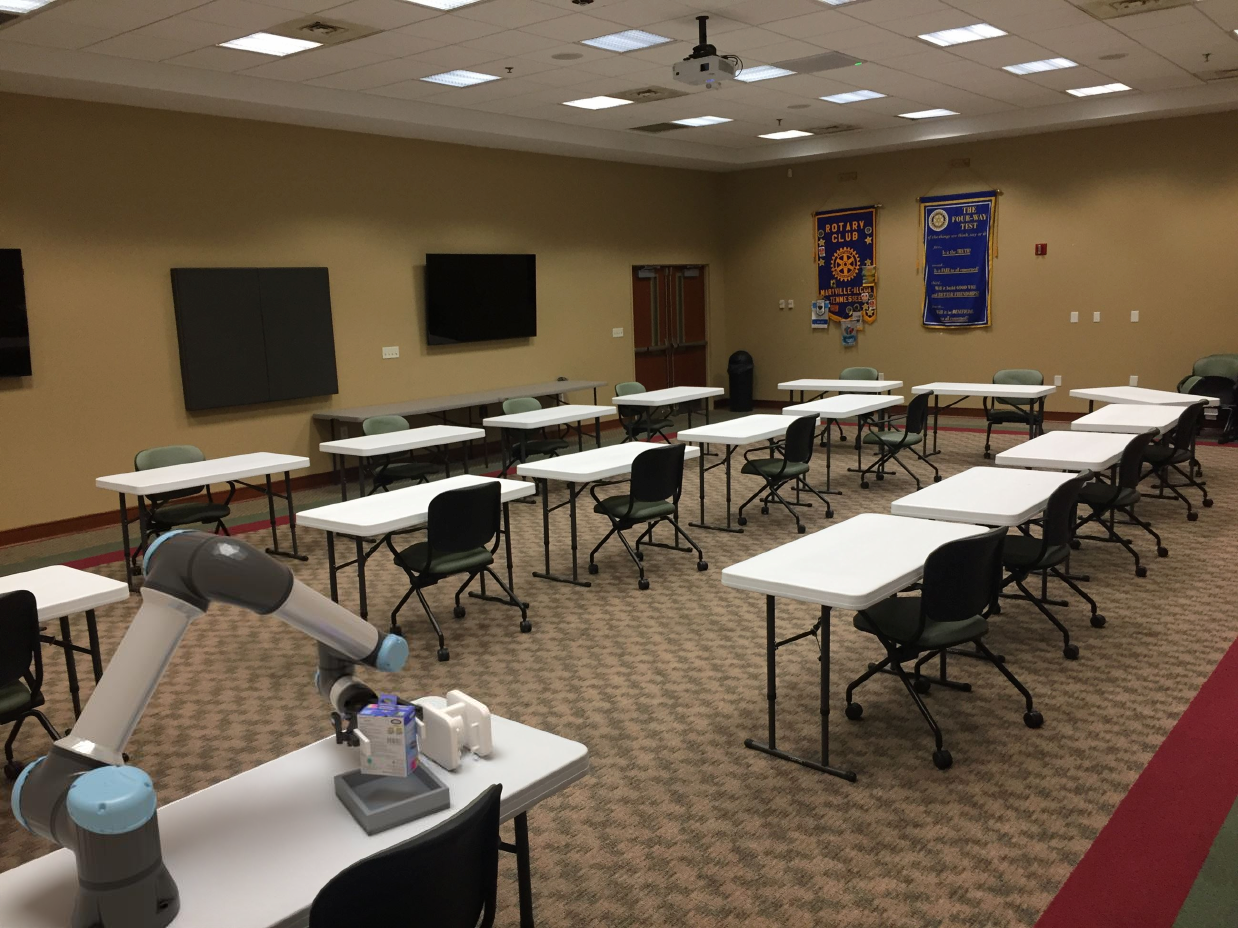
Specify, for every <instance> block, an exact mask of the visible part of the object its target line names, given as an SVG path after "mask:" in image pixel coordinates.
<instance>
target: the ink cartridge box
mask: <svg viewBox="0 0 1238 928" xmlns="http://www.w3.org/2000/svg"><path fill="white" fill-rule="evenodd" d="M395 695H396V694H394V695H393V694H392V695H391V694H383V693H381V694H379V697H378V698H379V701H378V704H369V705H367V706H366V707H365V708H364V709H363V710H362V711H361V712H360V713H359V714H357V722H358V730H359V731H360V732H361V733H362V734H363V735H364V736H365V737H366V738H367V739H368V740H369V741H370V751H371V755H369V756H366V755H365V754H364V752H363V751H362V750H361V749H360V748H359V747H358V749H359V762H360V764H359V765H360V768H361V773H362V774H375V775H387V776H399V777H408V776H409V775H410V774H411V772H412V771H413V770H414V769H415V768H416V767H417V766H418V765H419V762H418V759H419V751H418V750H419V749H418V748H419V747H418V740H417V733H416V718H415V706H401V705H396V703H397V696H398V695H397V696H395ZM386 699H388V700H393V701H394V702H393V703H392V704H390V703H382V700H386Z"/></svg>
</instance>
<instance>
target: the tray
mask: <svg viewBox="0 0 1238 928" xmlns="http://www.w3.org/2000/svg"><path fill="white" fill-rule="evenodd" d="M418 762H419V765H418V766H417V767H416V768H415V769H414V770H413V771H412V772H411V774H410V775H409V776H408V777H399V776H387V775H375V774H362V773H361V767H359V768H356V769H352V770H349V771H346V772H342V773H340V774H337V775H333V781H334V791H335V793H334V794H335V797H337V799H338V800H339V801H340V802H341V804H342V805H343V806H344V807H345V809H346V810H347V811H348V812H349V814H350V815H351V817H353V819H354V820H355V821H356V823H357V824H358V825H359V826H360V827H361V829H362V830H363V831H364V832H365V834H366V835H367V836H368V837H370V836H374V835H377V834H379V833H382V832H385V831H388V830H391V829H394V828H396V827H399V826H401V825H404V824H407V823H410V822H413V821H417V820H420V819H421V818H425V817H428V816H430V815H434V814H436V813H438V812H442V811H444V810H447V809H449V808H451V798H450V797H451V795H450V787H449V786H448V785H447V784H445V782H444V781H443V780H441V779H440V778H439V777H438V776H437V775H436V774H435V773H434V772H433V771H432V770H431V769H430V768H429V767H427V765H425V763H424V762H422V761H421V759H419V758H418Z"/></svg>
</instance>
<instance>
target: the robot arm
mask: <svg viewBox="0 0 1238 928" xmlns="http://www.w3.org/2000/svg"><path fill="white" fill-rule="evenodd" d="M142 568H143V572H142V573H143V574H142V575H143V577H144V579H145V580H144V582H143V584H142V585H141V587H140V590H139V591H140V594H141V596H142V600H143V602H142V604H141V606H140V608H139V609H138V611H137V613H136V615H135V617H134V618H133V620H132V622H131V624H130V626H129V628H128V629H127V631H126V633H125V634H124V637H123V638H122V640H121V641H120V644H119V645H118V647H117V649H116V650H115V652H114V655H113V656H112V658H111V659H110V662H109V663H108V665H107V667H106V668H105V670H104V672H103V674H102V676H101V678H100V679H99V681H98V683H97V685H96V686H95V688H94V690H93V692H92V693H91V696H90V697H89V699H88V701H87V702H86V704H85V705H84V706H85V707H84V708H83V710H82V712H81V714H80V715H79V718H78V719H77V721H76V723H75V724H74V726H73V728H72V729H71V732H70V733H69V734H68V735H67V736H65V737H62V738H60V739H58V740H55V741H54V742H53V743H52V745H51V747H50V749H49V751H48V753H47V754H46V755H44V756H41V757H39V758H38V759H37V760H36V761H34V762H30V763H29V764H28V765H27V766H26V767H25V768H24V769H23V770H22V771H21V773H20V774H19V776H18V777H17V779H16V781H15V782H14V785H13V788H12V791H11V792H12V793H11V799H10V800H11V804H10V805H11V809H12V812H13V815H14V817H15V819H16V821H18V822H19V824H21V826H23V827H25V828H26V829H27V831H29V832H30V833H32V834H33V835H35V836H37V837H43V838H44V839H47V840H49V841H51V842H53V843H55V844H57V845H59V846H61V847H64V848H66V849H68V850H69V851H72V852H73V853H74V856H75V863H76V864H75V865H76V870H77V871H76V872H77V876H78V878H77V879H78V890H77V895H76V897H75V902H74V906H73V910H72V915H71V918H70V919H71V921H70V924H71V928H165V927H166V926H167V925H169V923H171V922H172V920H173V919H174V918H175V917H176V915H177V914H178V912H179V910H180V907H181V901H180V892H179V891H180V890H179V888H178V886H177V883H176V882H175V880H174V878H173V876H172V875H171V873H170V871H169V869H168V868H167V866H166V864H165V862H164V860H163V853H162V845H161V836H160V827H159V818H158V811H157V810H158V809H157V804H158V803H157V802H158V800H157V795H156V790H155V788H154V783H153V780H152V779H151V777H150V775H149V774H148V773H147V772H145V771H144V770H142V769H140V768H139V767H136V766H131V765H126V764H125V761H124V758H123V752H124V749H125V748H126V746H127V744H128V742H129V740H130V739H131V736H132V734H133V733H134V731H135V728H136V727H137V724H138V722H139V721H140V719H141V717H142V716H143V713H144V711H145V709H146V708H147V706H148V703H149V702H150V700H151V698H152V697H153V694H154V693H155V691H156V690H157V687H158V685H159V683H160V681H161V680H162V678H163V676H164V674H165V672H166V670H167V668H168V666H169V664H170V662H171V661H172V658H173V657H174V655H175V653H176V651H177V649H178V647H179V645H180V644H181V641H182V640H183V638H184V636H185V634H186V632H187V630H188V629H189V627H190V625H191V623H192V622H193V621H195V620H198V619H200V618H202V617H205V615H206V614H207V612H208V611H209V608H210V606H211V604H212V603H219V604H224V605H230V606H233V607H238V608H242V609H245V610H249V611H251V612H253V613H254V614H256V615H258V616H262V617H263V616H265V617H267V616H273V617H275V618H276V619H279V620H280V621H282V622H284V623H286V624H288V625H290V627H291V626H292V627H293V628H295V629H297V630H299V631H300V632H302V633H305V634H307V635H308V636H311V637H312V638H314V639H315V640H316V648H317V649H316V651H317V659H318V669H317V671H316V673H315V675H314V684H315V687H316V689H317V692H319V694H320V695H321V697H323V698H324V699H326V701H327V702H329V704H331V705H332V706H333V707H334V709H335V710H337V711H332V712H330V719H331V720H330V721H331V726H332V727H334V731H335V741H336V745H338V746H340V745H342V744H343V743H344V742H346V744H347V745H346V746H347V747H349V748H351V747H353V748H357V747H358V749H359V748H360V749H361V750H362V751H363V752H364V754H365V755H366V756H369V755H371V751H370V741H369V740H368V739H367V738H366V737H365V736H364V735H363V734H362V733H361V732H360V731H359V730H358V722H357V714H359V713H360V712H361V711H362V710H363V709H364V708H365V707H366V706H367V705H369V704H378V701H379V697H378V695H377V693H376V692H375V691H374V690H373V688H371V687H370V686H369V685H368V684H366V683H365V681H363V680H362V679H360V678H359V676H358V675H357V667H356V666H361V667H365V668H368V669H372V670H376V671H379V672H380V673H384V672H385V673H392V674H393V673H396V672H399V671H400V670H401V669H402V668H403V667H404V666H405V664H406V662H407V659H408V657H409V651H410V650H409V645H408V641H406V639H405V638H403V637H402V636H400V635H396V634H394V633H387V632H385V631H383V630H382V629H380V628H378V627H376V626H374V625H373V624H371V623H369V622H368V621H366V620H364V619H363V618H362V617H360V616H358V615H356V614H354V613H353V612H351V611H350V610H348V609H346V608H345V607H343V606H341V605H339V604H338V603H336V602H335V601H333V600H331V599H330V598H328V597H326V596H324V594H322V593H319V592H318V591H317V590H315V589H313V588H312V587H310V586H308V585H306V584H305V583H304V582H302V581H301V580H298V579H297V578H296V577H295V574H294V571H293V570H292V569H291V568H289V567H288V566H286V565H285V564H284V563H282V562H280V561H278V560H277V559H275V558H273V556H271V555H269V554H268V553H266V552H264V551H263V550H261V549H259V548H257V547H256V546H254V545H253V544H250V543H249V542H247V541H245V540H243V539H240V538H238V537H234V536H227V535H221V534H214V533H210V532H204V531H200V530H197V529H177V530H172V531H168V532H166V533H164V534H161V535H159V536H158V537H157V538H156V539H155V540H154V541H153V542H152V543H151V544H150V546H149V547H148V548H147V550H146V552H145V553H144V557H143V561H142ZM394 695H395V696H397V703H396V705H401V706H415V718H416V733H417V735H418V736H419V737H420V738H422V739H423V738H426V735H425V724H424V723H423V721H422V720H423V719H424V718H423V707H421V706H418V705H416V704H417V703H413V702H410V701H407V700H405V699H402V698H400V697H399V696H398V695H396V694H394ZM393 702H394V701H393V700H391V699H388V700H385V699H383V700H382V703H390V704H392V703H393ZM344 721H347V722H349V723H348V725H347V728H346V729H345V731H343V728H342V727H343V726H342V725H343V722H344Z"/></svg>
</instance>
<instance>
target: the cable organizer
mask: <svg viewBox="0 0 1238 928" xmlns="http://www.w3.org/2000/svg"><path fill="white" fill-rule="evenodd" d="M445 698H446V707H443V708H441V709H438V708H437V707H435V706H434V705H432V704H430V703H428V702H427V701H425V700H424V701H421V702H418V703H415V704H416V705H418V706H421V707H423V718H424V719H423V720H422V721H423V723H424V724H425V735H426V738H423V739H422V738H420V737H419V736H418V735H417V747H418V748H419V750H420V751H421V753H423V754H425V756H426V757H428V758H430V759H431V760H433V761H435V762H436V763H438V764H439V765H441V767H442V768H444V769H446V770H447V771H451V770H454V769H456V768H458V766H459V763H460V762H459V758H460V760H462V756H463V754H462V753H461V750H460V749H459V748H461V747H465V748H467V749H469V750H470V754H471V755H474V753H475V754H477V755H478V756H480V757H485V756H487V755H490V754H491V753H492V752H493V737H492V721H491V719H492V718H491V712H490V709H489V708H488V706H487V705H486V704H484V703H482V702H480V701H479V700H477V699H474V698H473V697H472V696H470V695H468V694H466V693H463V691H460V690H458V689H453V690H450V691H447V693H446V696H445Z"/></svg>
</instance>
